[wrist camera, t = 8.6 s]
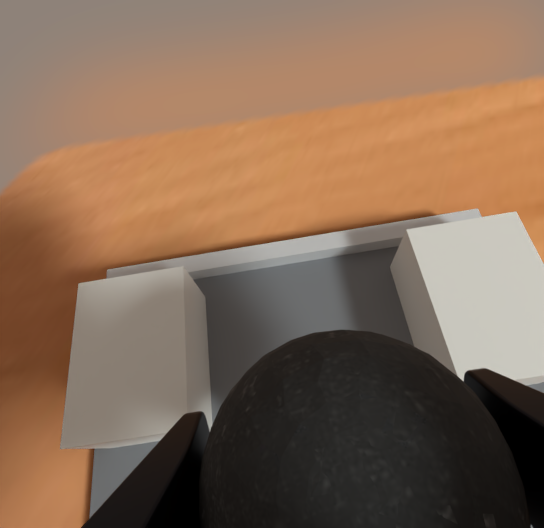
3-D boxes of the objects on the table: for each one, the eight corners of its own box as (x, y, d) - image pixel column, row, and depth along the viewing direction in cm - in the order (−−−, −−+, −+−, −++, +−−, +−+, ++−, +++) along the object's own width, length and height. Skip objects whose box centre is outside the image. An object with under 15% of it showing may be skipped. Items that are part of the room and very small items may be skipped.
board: (671, 679, 14) (859, 801, 9) (88, 754, 14) (-22, 906, 10) (469, 223, 23) (510, 166, 18) (117, 281, 23) (68, 240, 18)
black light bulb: (408, 394, 14) (584, 304, 5) (409, 578, 12) (740, 992, 3) (264, 374, 15) (204, 265, 6) (238, 543, 13) (72, 782, 4)
